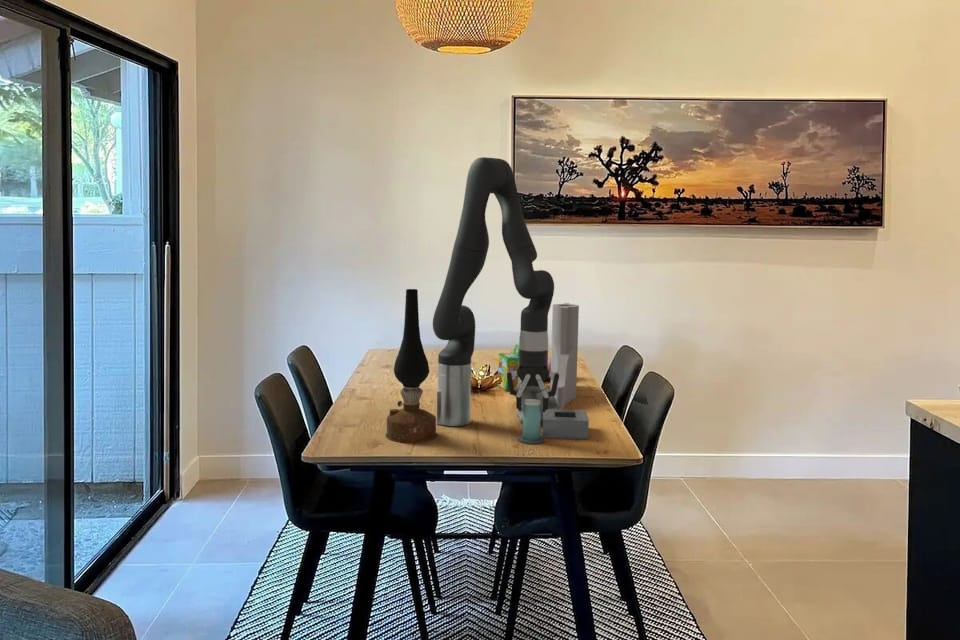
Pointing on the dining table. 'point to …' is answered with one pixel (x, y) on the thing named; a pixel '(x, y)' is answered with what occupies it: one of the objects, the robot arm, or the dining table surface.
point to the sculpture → (537, 394)
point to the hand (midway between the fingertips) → (532, 410)
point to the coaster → (531, 441)
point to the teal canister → (531, 419)
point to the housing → (565, 424)
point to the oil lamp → (411, 383)
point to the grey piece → (565, 351)
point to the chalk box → (508, 367)
